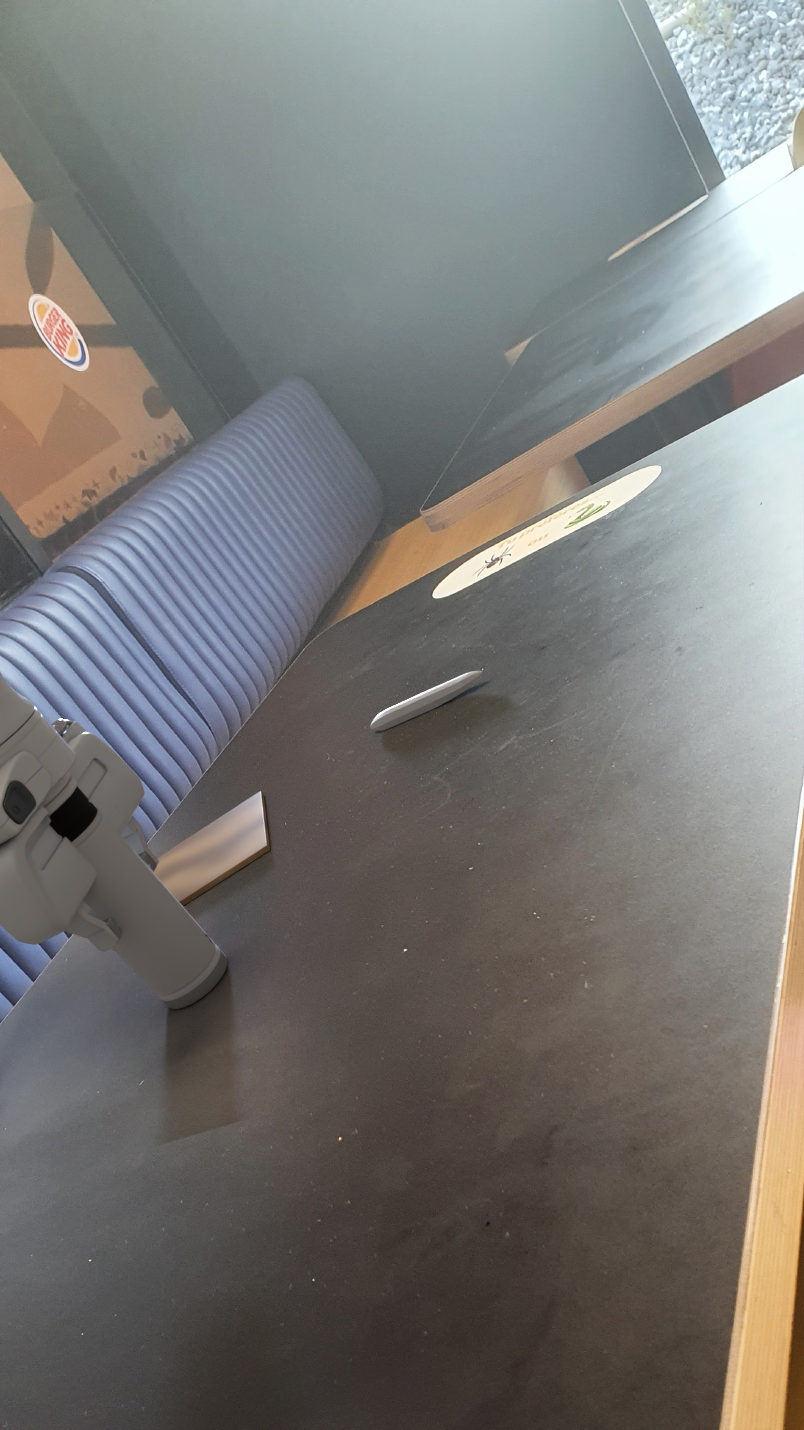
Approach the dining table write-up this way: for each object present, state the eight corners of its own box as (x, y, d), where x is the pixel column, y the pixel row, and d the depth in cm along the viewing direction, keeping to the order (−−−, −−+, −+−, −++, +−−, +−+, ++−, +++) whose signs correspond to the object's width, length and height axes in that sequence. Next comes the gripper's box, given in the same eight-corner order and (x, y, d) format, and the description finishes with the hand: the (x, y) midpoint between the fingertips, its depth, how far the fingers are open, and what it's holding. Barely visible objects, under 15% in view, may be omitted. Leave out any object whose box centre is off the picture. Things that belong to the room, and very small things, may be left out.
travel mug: (239, 943, 97) (84, 761, 88) (214, 998, 92) (45, 811, 83) (184, 964, 100) (27, 790, 90) (156, 1018, 95) (-14, 839, 85)
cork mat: (154, 865, 123) (151, 861, 122) (264, 794, 122) (260, 790, 122) (148, 928, 110) (144, 924, 110) (270, 849, 109) (266, 845, 109)
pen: (488, 685, 113) (479, 671, 112) (371, 736, 118) (363, 724, 118) (490, 677, 114) (482, 664, 113) (375, 728, 120) (366, 716, 119)
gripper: (35, 725, 95) (142, 848, 101) (-80, 867, 78) (57, 1004, 85) (92, 692, 93) (198, 820, 99) (-13, 831, 76) (122, 974, 83)
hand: (132, 906), depth 92 cm, fingers open, 8 cm apart
